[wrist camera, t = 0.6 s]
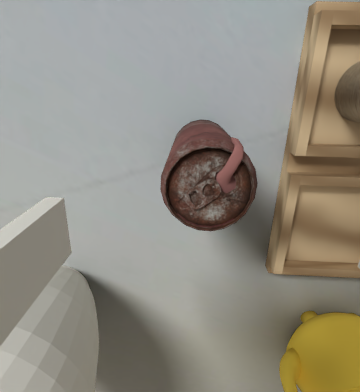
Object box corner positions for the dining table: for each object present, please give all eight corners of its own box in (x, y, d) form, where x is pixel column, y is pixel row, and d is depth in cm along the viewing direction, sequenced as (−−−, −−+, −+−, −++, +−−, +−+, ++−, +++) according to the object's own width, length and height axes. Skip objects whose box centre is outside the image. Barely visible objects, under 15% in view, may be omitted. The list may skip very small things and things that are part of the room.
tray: (309, 6, 24) (324, -5, 21) (445, 9, 23) (479, -3, 21) (265, 265, 34) (272, 280, 31) (360, 269, 34) (375, 285, 31)
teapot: (247, 369, 41) (267, 467, 30) (260, 293, 36) (290, 378, 25) (378, 377, 40) (445, 479, 30) (411, 301, 35) (508, 391, 24)
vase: (91, 351, 41) (-41, 692, 18) (-18, 297, 38) (-353, 623, 15) (151, 274, 35) (73, 628, 12) (29, 204, 32) (-399, 493, 9)
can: (240, 131, 28) (283, 162, 15) (214, 183, 30) (231, 250, 17) (188, 107, 27) (185, 118, 14) (165, 161, 30) (144, 214, 16)
